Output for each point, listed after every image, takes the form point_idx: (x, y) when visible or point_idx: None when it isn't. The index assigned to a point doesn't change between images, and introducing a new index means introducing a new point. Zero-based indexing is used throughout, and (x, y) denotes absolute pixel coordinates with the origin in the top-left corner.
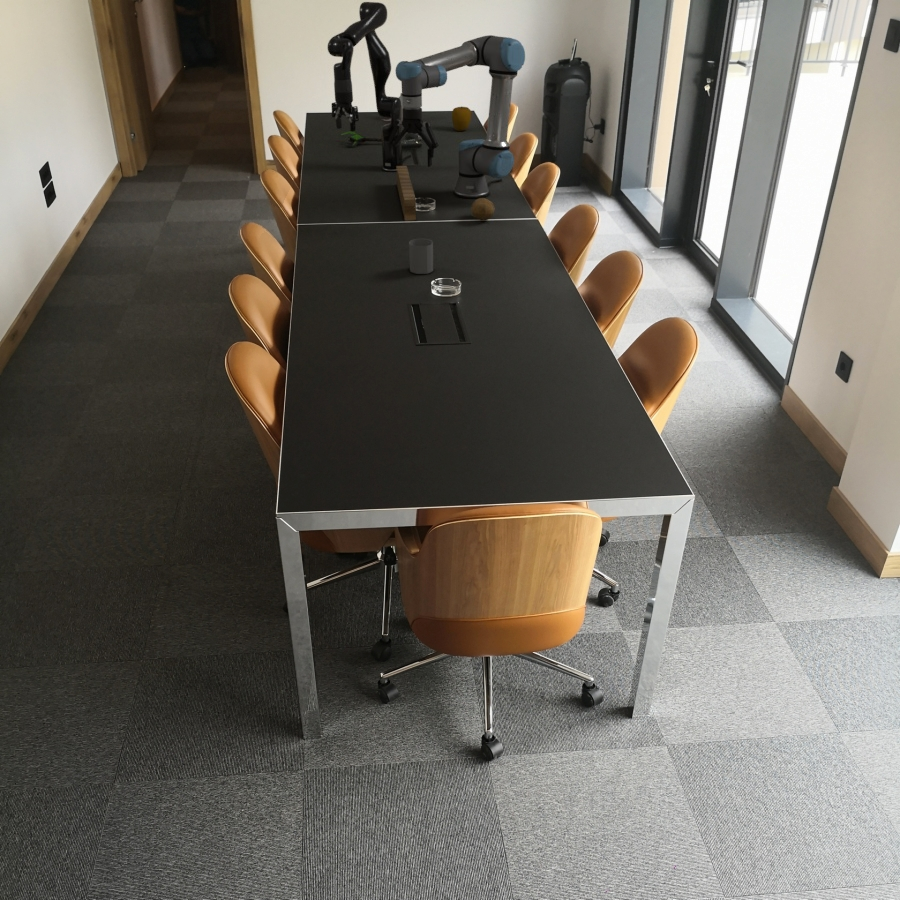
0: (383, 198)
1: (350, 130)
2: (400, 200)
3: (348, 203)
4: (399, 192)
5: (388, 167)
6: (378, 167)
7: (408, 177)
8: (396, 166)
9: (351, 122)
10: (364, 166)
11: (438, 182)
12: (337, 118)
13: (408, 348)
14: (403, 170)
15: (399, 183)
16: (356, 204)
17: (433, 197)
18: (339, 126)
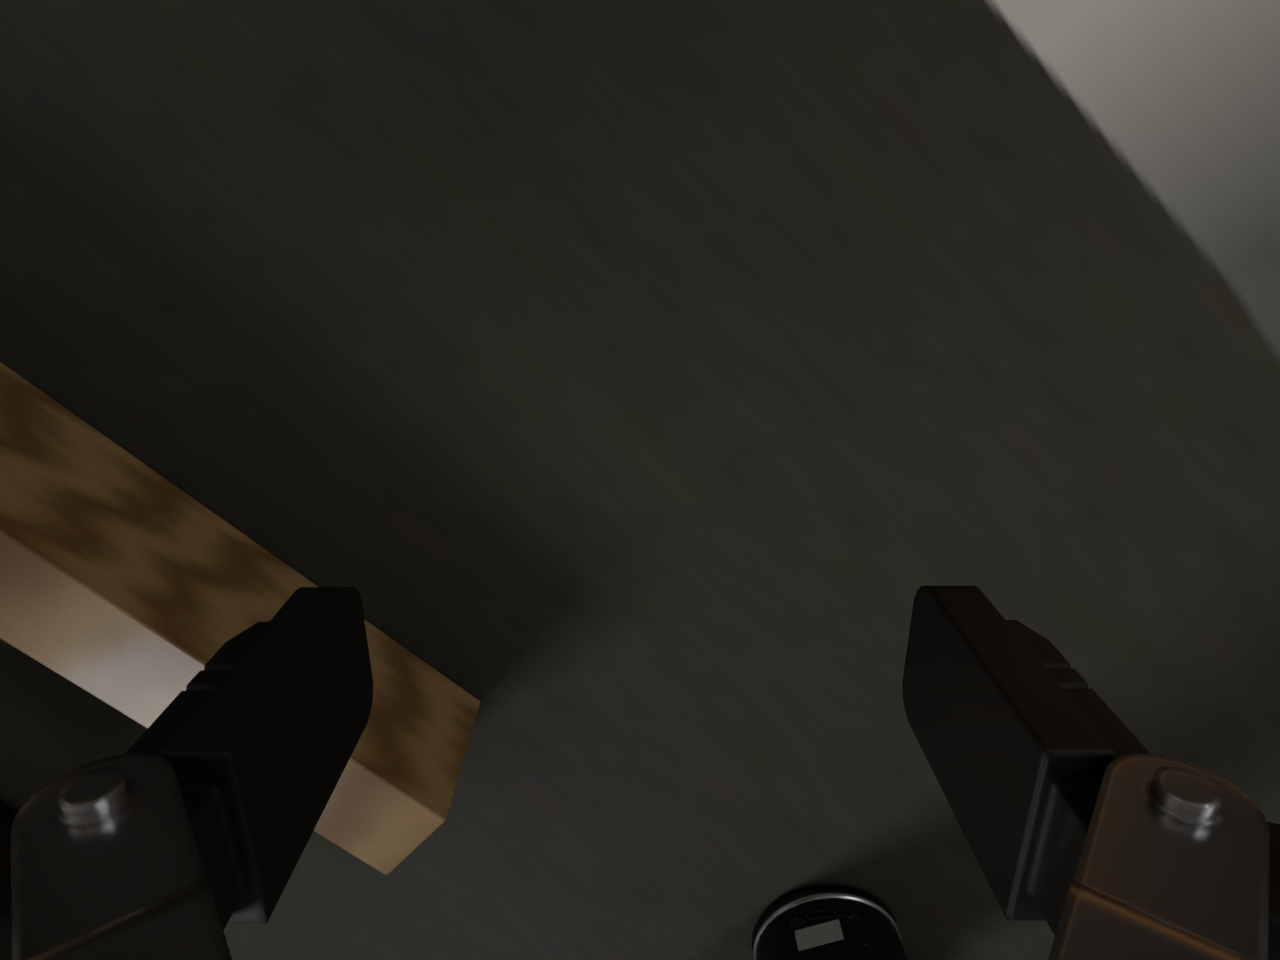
0: (252, 380)
1: (340, 590)
2: (73, 418)
3: (338, 13)
4: (160, 508)
5: (810, 915)
6: (946, 914)
7: (7, 631)
8: (438, 814)
9: (94, 765)
10: None
11: (328, 912)
12: (1091, 821)
13: None
14: None
15: (54, 520)
16: (254, 49)
17: (20, 658)
18: (931, 666)
